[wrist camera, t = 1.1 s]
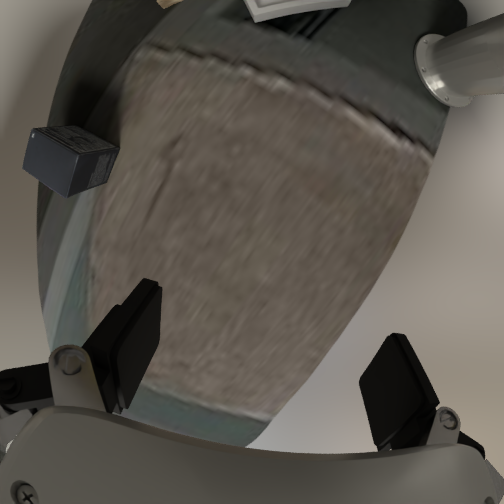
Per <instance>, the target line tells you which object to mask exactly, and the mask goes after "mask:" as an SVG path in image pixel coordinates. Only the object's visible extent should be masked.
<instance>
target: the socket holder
mask: <svg viewBox="0 0 504 504" xmlns="http://www.w3.org/2000/svg"><path fill="white" fill-rule="evenodd" d="M180 1H182V0H157V2H158V3H159V4H160V5H161V7H162V8H163V9H164V8H166V7H169V6H171V5H173V4H175V3H178V2H180Z"/></svg>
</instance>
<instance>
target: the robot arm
mask: <svg viewBox="0 0 504 504" xmlns="http://www.w3.org/2000/svg"><path fill="white" fill-rule="evenodd" d="M414 61H415V66H416V69H417V72H418V74H419V76H420V78H421V80H422V82H423V84H424V85H425V87H426V88H427V89H428V90H429V92H430V93H431V94H432V95H433V96H434V97H435V98H436V99H437V100H439V101H440V102H442V103H443V104H445V105H447V106H451V107H464V106H466V105H468V104H469V103H470V102H471V101H472V99H473V98H474V96H478V95H489V94H504V13H503V14H500V15H498V16H495V17H492V18H490V19H487V20H485V21H482V22H479V23H477V24H474V25H472V26H469V27H467V28H465V29H462V30H460V31H458V32H455V33H453V34H451V35H449V36H447V37H444V36H441V35H438V34H428V35H425V36H423V37H422V38H420V39H419V40H418V41H417V43H416V45H415V49H414ZM161 302H162V287H160V286H158V282H157V281H153V280H150V279H146V278H143V279H142V280H141V281H140V283H139V284H138V285H137V286H136V287H135V289H134V290H133V291H132V292H131V294H130V295H129V296H128V297H127V299H126V300H125V301H124V302H123V303H122V305H118V304H117V305H115V306H114V307H113V308H112V309H111V310H110V312H109V313H108V314H107V315H106V317H105V318H104V319H103V320H102V322H101V323H100V324H99V325H98V327H97V328H96V329H95V330H94V332H93V333H92V334H91V336H90V337H89V338H88V339H87V341H86V342H85V343H84V345H83V346H82V347H79V346H76V345H63V346H60V347H58V348H56V349H55V350H54V351H53V352H52V353H51V355H50V357H49V362H48V363H42V364H37V365H31V366H25V367H19V368H12V369H6V370H3V371H1V372H0V504H499V503H500V501H501V499H502V497H503V495H504V479H503V477H502V476H501V475H500V474H499V473H498V472H497V470H496V469H495V468H494V467H493V466H492V465H491V464H490V462H489V461H488V460H487V459H486V460H485V451H484V448H483V446H482V445H480V444H479V443H478V442H476V441H475V440H473V439H472V438H470V437H469V436H467V435H465V434H464V433H462V432H461V431H460V419H459V417H458V415H457V414H456V413H455V411H453V410H452V409H451V408H448V407H440V408H439V409H438V410H436V407H437V406H438V404H439V403H440V402H439V400H438V397H437V395H436V393H435V391H434V389H433V387H432V385H431V383H430V381H429V379H428V377H427V375H426V373H425V371H424V369H423V367H422V365H421V363H420V361H419V359H418V357H417V355H416V353H415V352H414V350H413V348H412V346H411V344H410V342H409V341H408V339H407V337H406V336H405V335H404V334H399V333H392V334H391V335H390V336H387V338H386V339H385V341H384V342H383V344H382V345H381V347H380V349H379V350H378V352H377V353H376V355H375V357H374V358H373V360H372V361H371V363H370V364H369V366H368V367H367V369H366V370H365V371H364V373H363V374H362V376H361V377H360V380H359V386H360V390H361V394H362V397H363V401H364V405H365V409H366V412H367V416H368V420H369V424H370V429H371V433H372V437H373V441H374V444H375V445H376V446H377V449H378V452H367V453H348V454H347V453H346V454H310V453H291V452H278V451H268V450H259V449H252V448H245V447H238V446H232V445H226V444H221V443H216V442H211V441H207V440H202V439H198V438H194V437H190V436H185V435H181V434H178V433H174V432H170V431H166V430H163V429H160V428H156V427H153V426H150V425H147V424H144V423H140V422H137V421H134V420H131V419H127V418H124V417H121V416H118V415H114V414H112V412H115V413H118V414H121V412H122V410H123V408H125V409H128V408H129V406H130V404H131V402H132V399H133V397H134V395H135V393H136V391H137V389H138V386H139V384H140V382H141V380H142V378H143V376H144V374H145V372H146V370H147V368H148V365H149V363H150V361H151V359H152V357H153V355H154V353H155V351H156V349H157V347H158V344H159V340H160V321H161ZM16 435H17V436H16ZM13 439H14V440H13ZM11 440H13V442H12V443H11V445H10V447H9V449H8V451H7V453H6V447H7V444H8V443H9V442H10V441H11ZM390 449H392V450H390Z"/></svg>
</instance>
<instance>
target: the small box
mask: <svg viewBox="0 0 504 504" xmlns="http://www.w3.org/2000/svg"><path fill="white" fill-rule="evenodd" d="M119 150H120V148H119V147H117V146H116V145H114V144H112V143H110V142H108V141H106V140H104V139H102V138H100V137H98V136H97V135H95V134H93V133H91V132H89V131H87V130H85V129H83V128H81V127H79V126H77V125H70V126H58V127H43V128H33V129H32V130H31V134H30V137H29V141H28V145H27V149H26V153H25V157H24V162H23V167H22V169H24V170H25V171H26V172H28V173H29V174H31V175H32V176H34V177H35V178H36V179H38V180H39V181H41V182H42V183H44V184H45V185H46V186H48V187H49V188H51V189H52V190H54V191H55V192H57V193H58V194H60V195H61V196H62V197H64V198H68V197H70V196H73V195H75V194H78V193H80V192H83V191H86V190H88V189H91V188H94V187H96V186H99V185H102V184H105V183H107V180H108V178H109V175H110V173H111V170H112V168H113V165H114V162H115V160H116V157H117V155H118V153H119Z"/></svg>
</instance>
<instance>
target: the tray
mask: <svg viewBox="0 0 504 504" xmlns="http://www.w3.org/2000/svg"><path fill="white" fill-rule="evenodd" d="M244 2H245V4H246V6H247V8H248V10H249V12H250V14H251V16H252V18H253V20H254V22H255V23H256V22H260V21H264V20H268V19H272V18H276V17H280V16H285V15H290V14H295V13H301V12H307V11H313V10H320V9H328V8H338V7H348V5H349V4H350V2H351V0H244Z"/></svg>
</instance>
